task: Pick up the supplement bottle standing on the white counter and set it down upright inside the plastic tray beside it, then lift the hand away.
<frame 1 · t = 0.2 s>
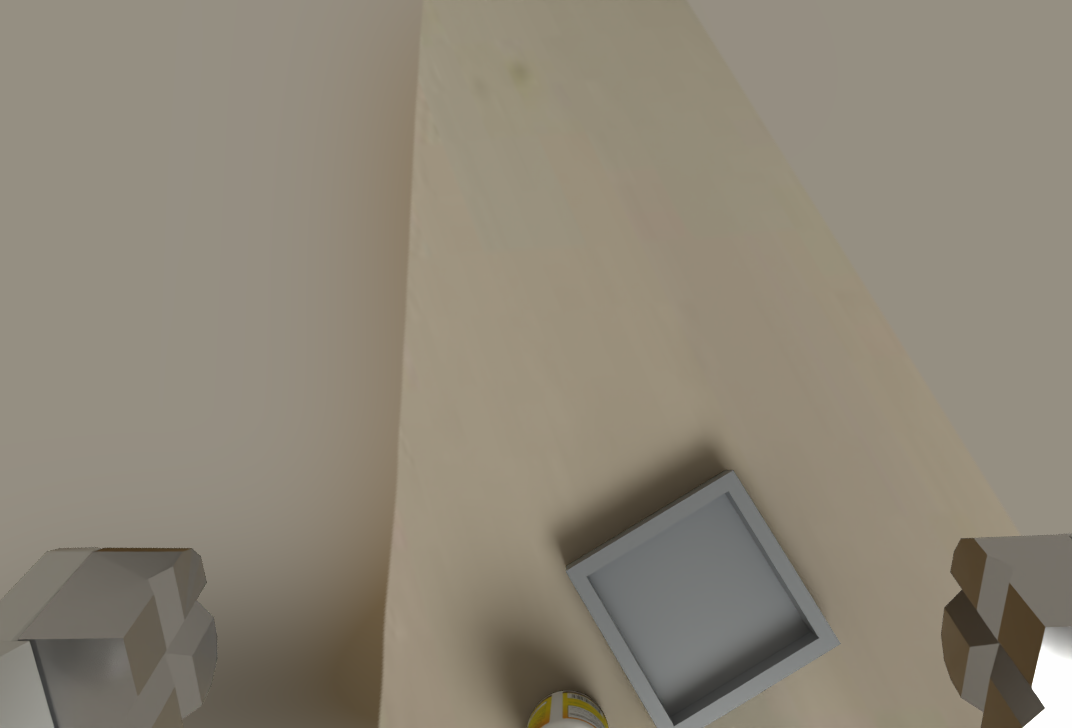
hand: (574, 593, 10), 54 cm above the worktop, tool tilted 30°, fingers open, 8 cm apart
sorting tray: (695, 600, 62), on the worktop
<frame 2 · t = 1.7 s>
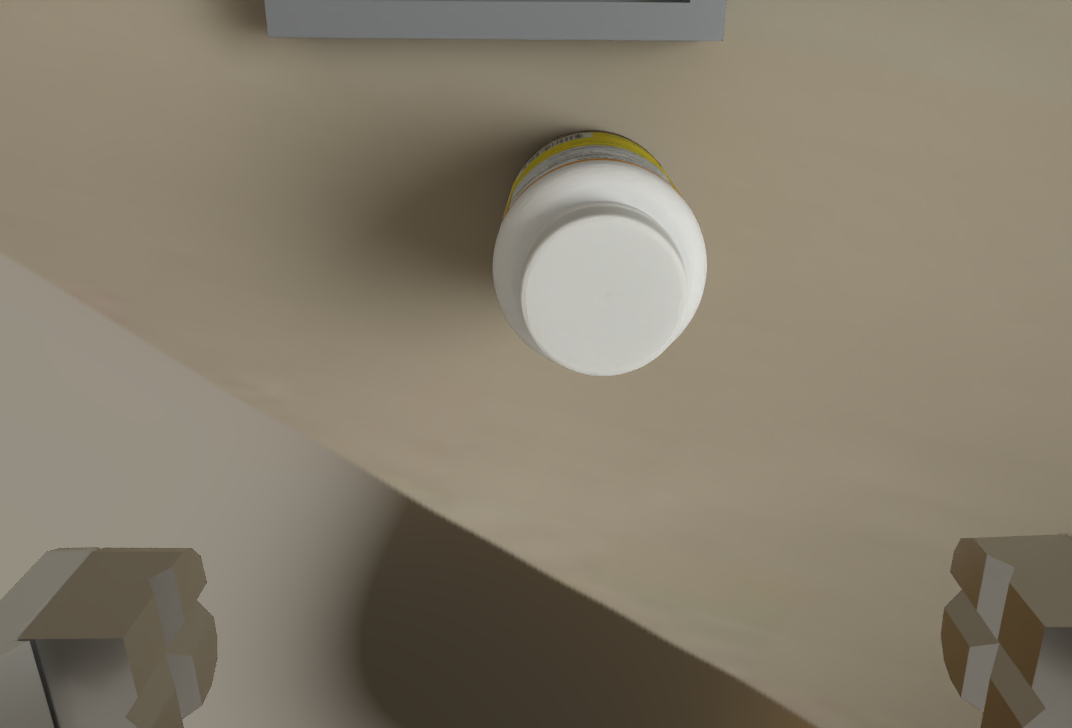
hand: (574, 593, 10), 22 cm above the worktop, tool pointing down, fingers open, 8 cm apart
supplement bottle: (590, 209, 31), on the worktop
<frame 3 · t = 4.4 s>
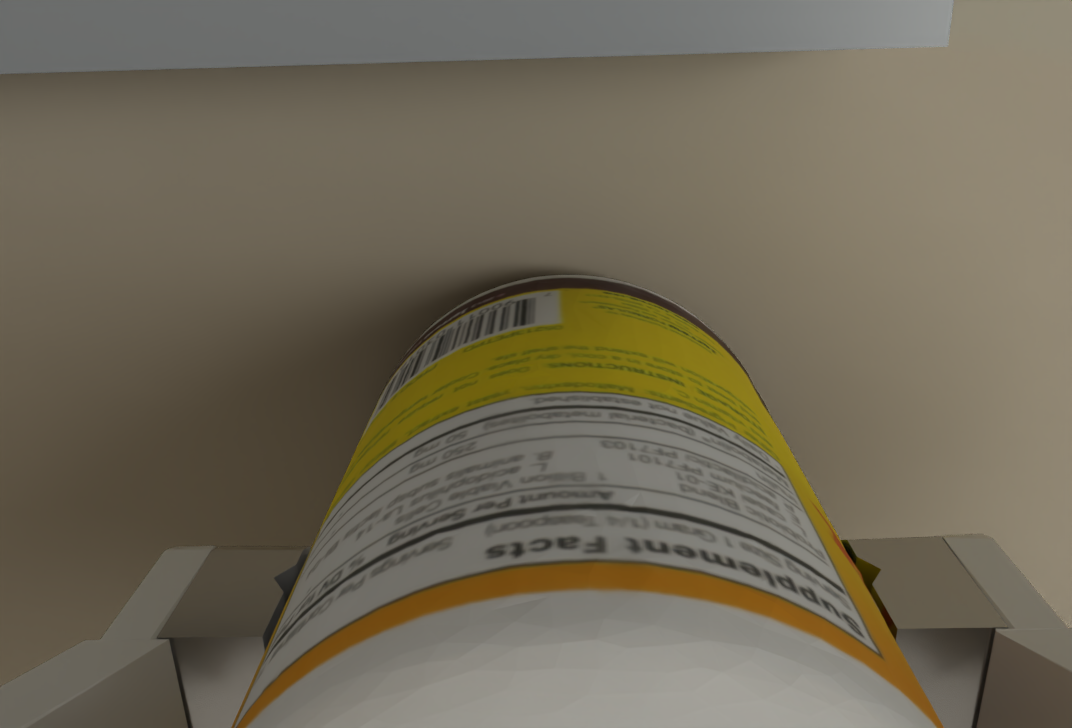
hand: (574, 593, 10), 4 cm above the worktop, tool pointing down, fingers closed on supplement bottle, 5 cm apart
supplement bottle: (568, 437, 13), on the worktop, touching gripper
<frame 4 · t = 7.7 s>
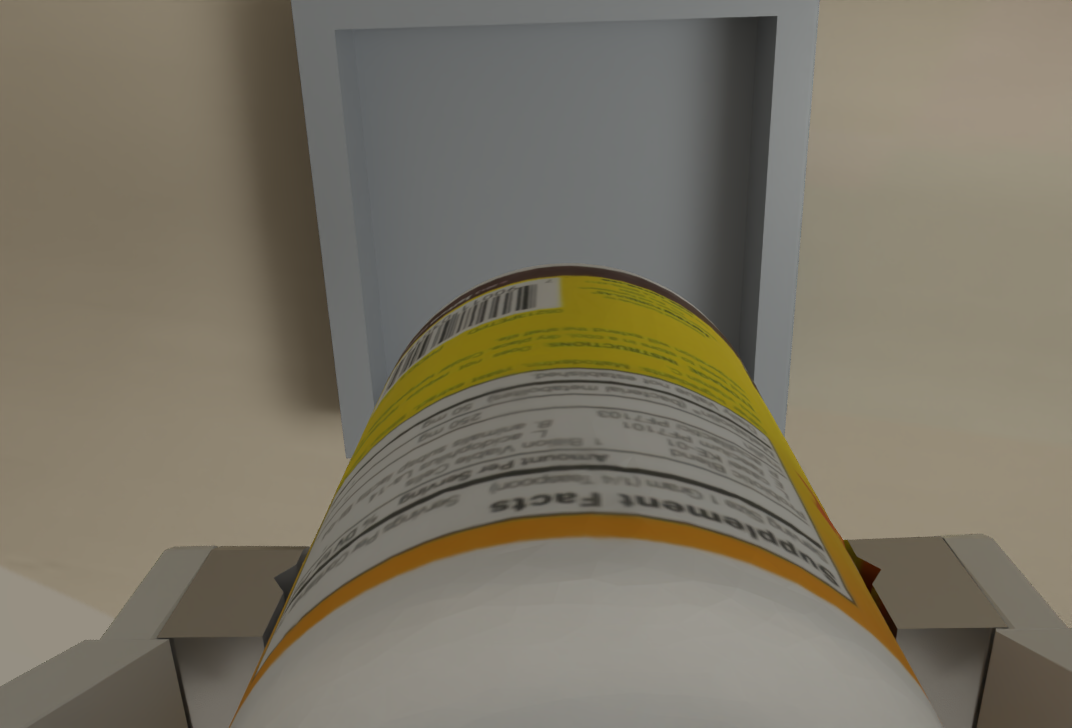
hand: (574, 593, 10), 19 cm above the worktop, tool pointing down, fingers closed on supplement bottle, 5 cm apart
supplement bottle: (568, 421, 14), point 14 cm above the worktop, touching gripper
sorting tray: (558, 216, 27), on the worktop
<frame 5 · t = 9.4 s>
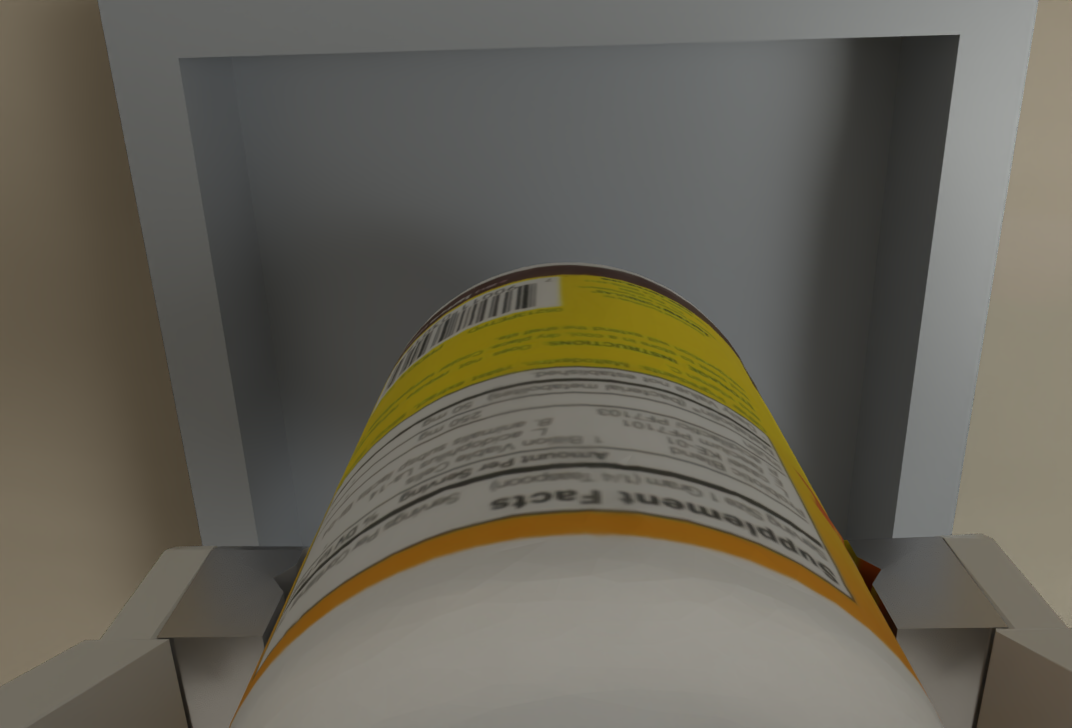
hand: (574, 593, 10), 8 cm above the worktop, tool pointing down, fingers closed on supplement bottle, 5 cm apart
supplement bottle: (568, 420, 14), point 4 cm above the worktop, touching gripper
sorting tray: (567, 340, 17), on the worktop
when the fingers open (5 cm above the worktop, at t = 10.9 s): supplement bottle stays where it is, resting on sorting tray.
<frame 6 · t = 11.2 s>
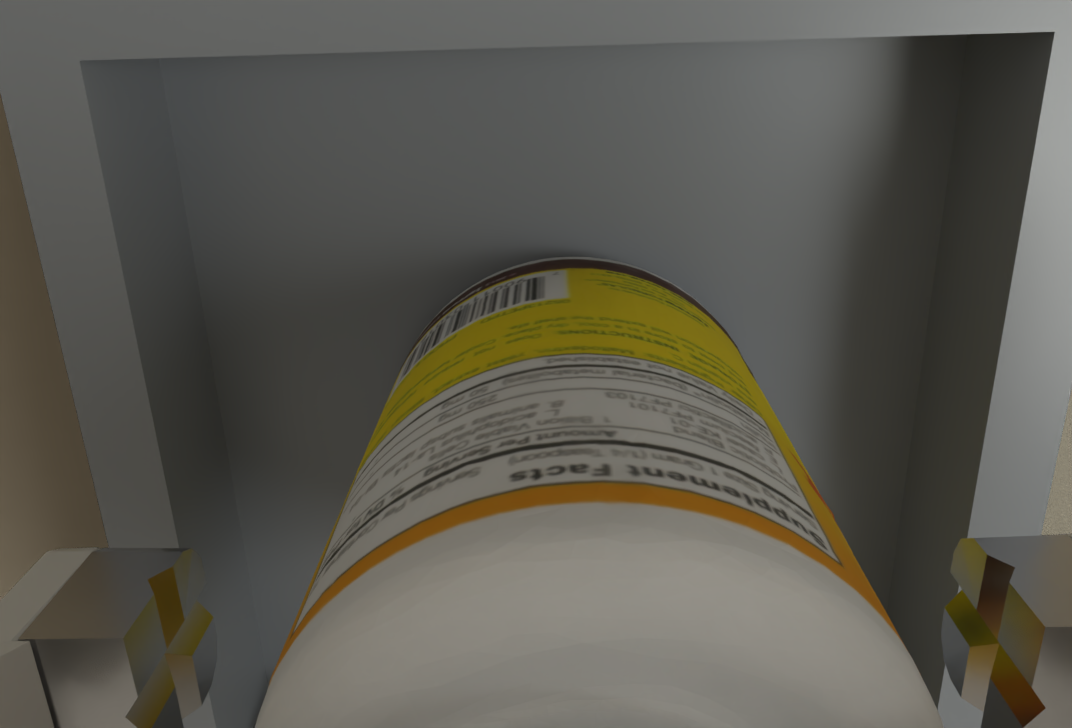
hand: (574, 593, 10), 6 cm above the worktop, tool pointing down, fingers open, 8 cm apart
supplement bottle: (573, 408, 14), point 1 cm above the worktop, touching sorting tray
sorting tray: (564, 389, 15), on the worktop
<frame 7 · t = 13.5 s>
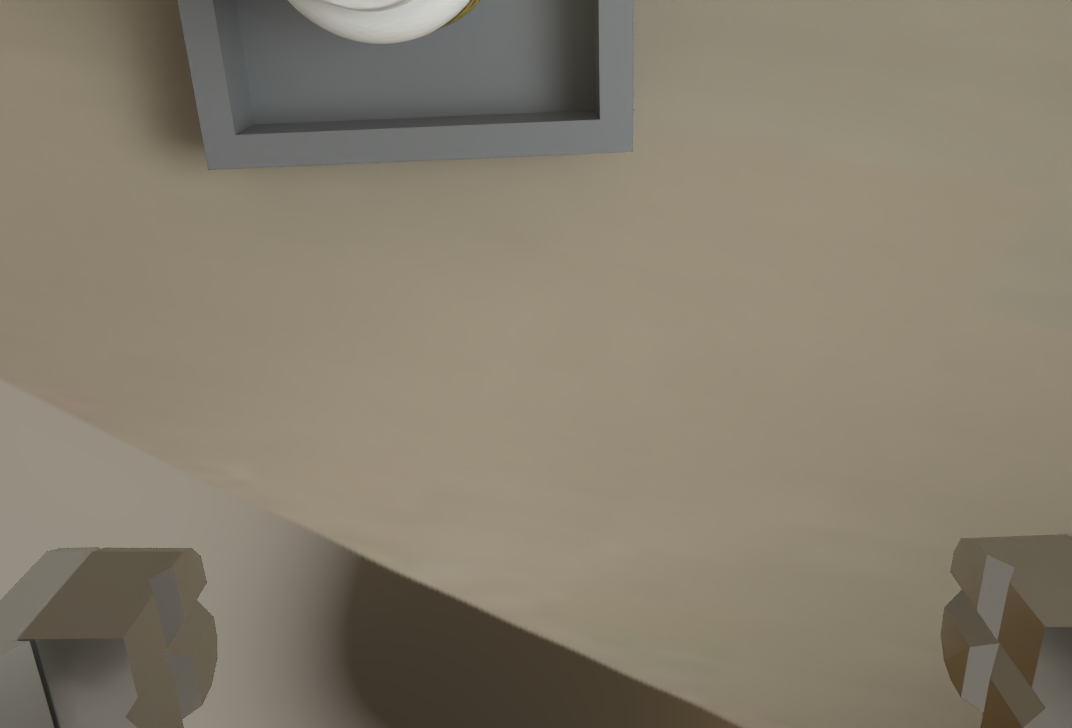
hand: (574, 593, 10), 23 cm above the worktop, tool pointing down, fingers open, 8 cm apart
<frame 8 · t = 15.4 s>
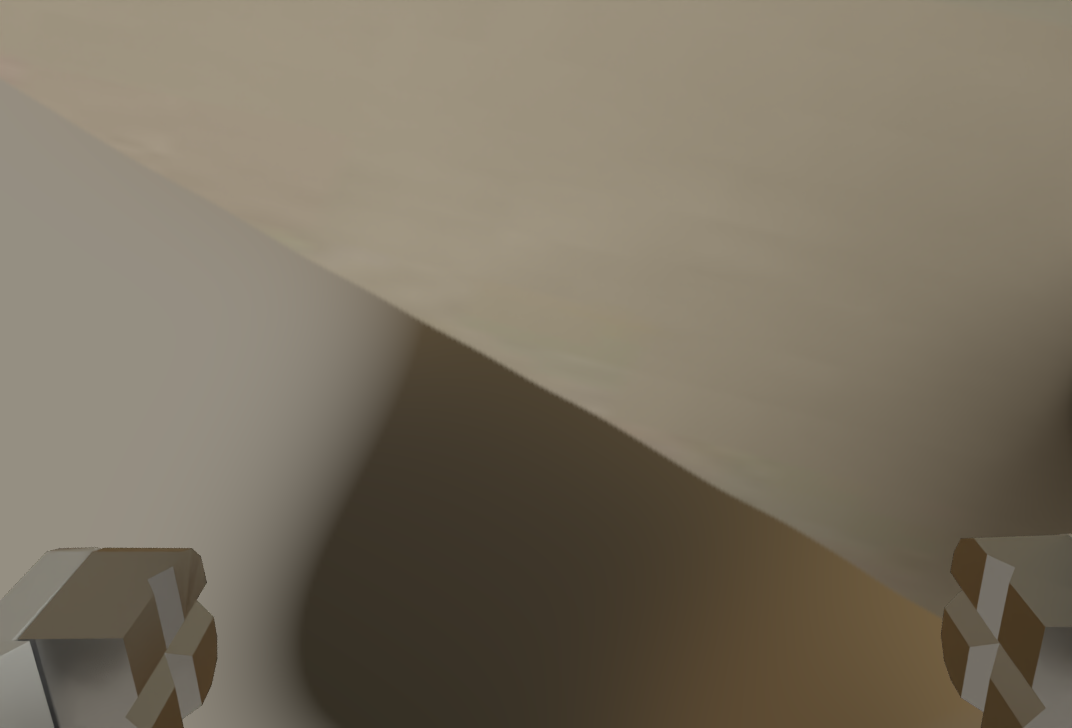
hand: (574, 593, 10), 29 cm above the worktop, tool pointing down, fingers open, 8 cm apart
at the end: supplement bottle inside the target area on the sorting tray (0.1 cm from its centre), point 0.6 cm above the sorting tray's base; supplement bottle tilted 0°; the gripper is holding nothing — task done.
